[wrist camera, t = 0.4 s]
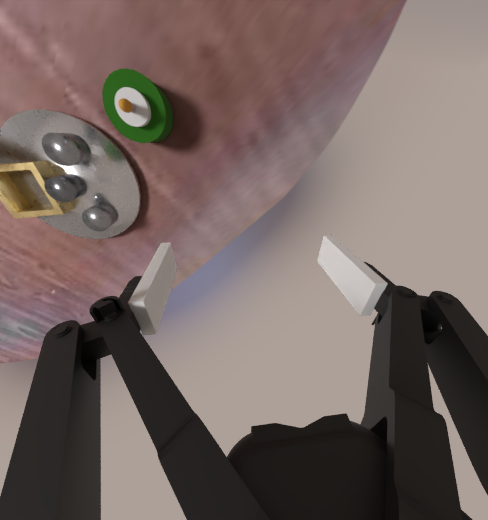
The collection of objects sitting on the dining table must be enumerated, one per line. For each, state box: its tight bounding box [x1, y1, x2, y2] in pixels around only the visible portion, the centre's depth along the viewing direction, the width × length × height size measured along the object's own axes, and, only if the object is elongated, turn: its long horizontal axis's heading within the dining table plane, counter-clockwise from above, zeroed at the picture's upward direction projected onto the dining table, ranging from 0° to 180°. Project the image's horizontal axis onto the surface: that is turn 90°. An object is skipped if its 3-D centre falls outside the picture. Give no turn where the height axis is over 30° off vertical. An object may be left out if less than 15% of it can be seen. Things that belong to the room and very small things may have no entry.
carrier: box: [0, 110, 142, 239], centre depth 34 cm, size 22×22×6 cm
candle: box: [103, 69, 173, 143], centre depth 27 cm, size 8×8×10 cm
